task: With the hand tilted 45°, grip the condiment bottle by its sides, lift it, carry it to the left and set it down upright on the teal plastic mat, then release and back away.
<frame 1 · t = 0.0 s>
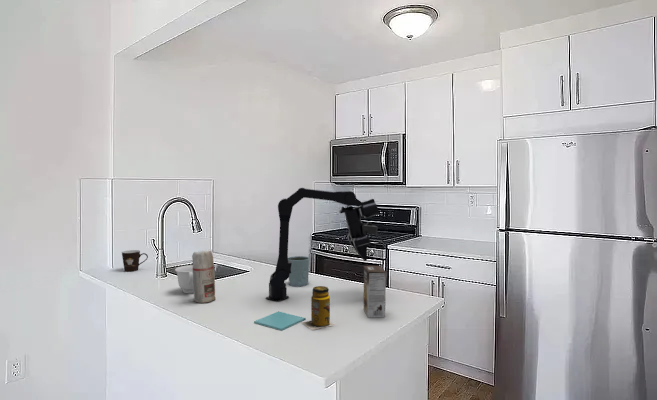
hand: (363, 258, 161), 15 cm above the counter, tool pointing down, fingers open, 9 cm apart
condiment: (318, 325, 130), on the counter
coffee mug: (134, 271, 207), on the counter
spray can: (204, 300, 156), on the counter
mat: (280, 321, 132), on the counter
grey teal cup: (298, 284, 180), on the counter
coffee box: (373, 313, 141), on the counter
teacup: (190, 292, 167), on the counter
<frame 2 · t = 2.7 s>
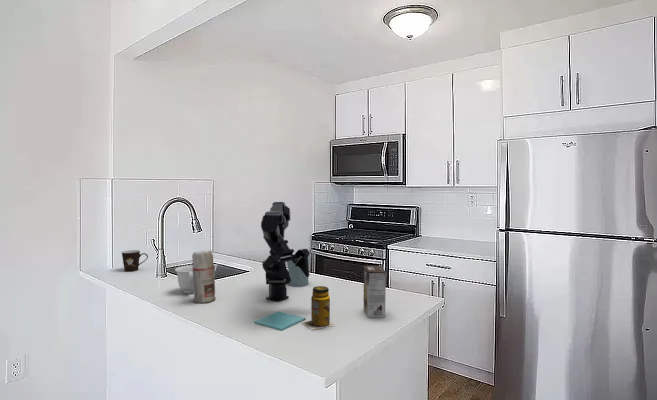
hand: (299, 279, 135), 13 cm above the counter, tool tilted 45°, fingers open, 9 cm apart
nothing on the counter moved.
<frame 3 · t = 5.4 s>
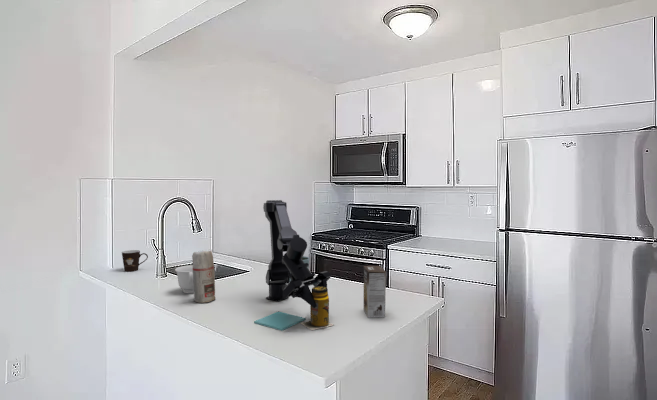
hand: (321, 304, 129), 7 cm above the counter, tool tilted 45°, fingers closed on condiment, 6 cm apart
condiment: (317, 325, 129), on the counter, touching gripper
everything else where it was.
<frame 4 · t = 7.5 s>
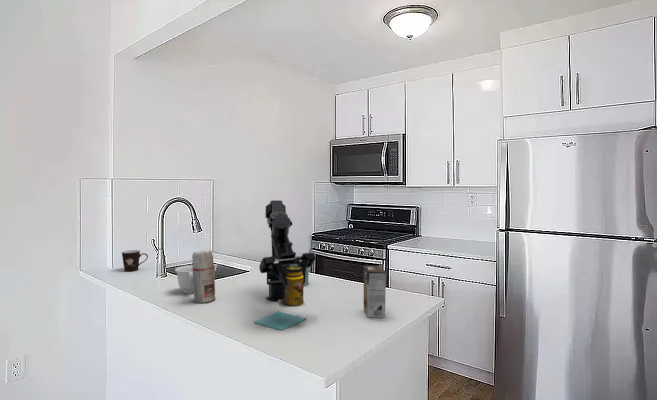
hand: (295, 284, 129), 13 cm above the counter, tool tilted 45°, fingers closed on condiment, 6 cm apart
condiment: (291, 304, 130), point 6 cm above the counter, touching gripper
everything else where it was.
when the fingers open (8 cm above the counter, at t = 9.3 s): condiment drops 1 cm, resting on mat.
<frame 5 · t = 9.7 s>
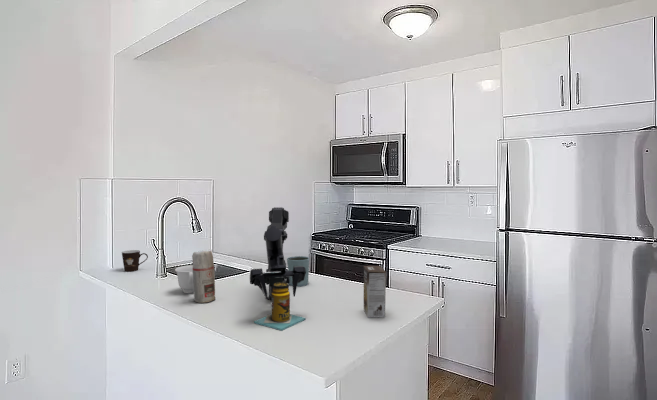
hand: (280, 297, 130), 9 cm above the counter, tool tilted 45°, fingers open, 9 cm apart
condiment: (278, 320, 132), resting on mat
everything else where it was.
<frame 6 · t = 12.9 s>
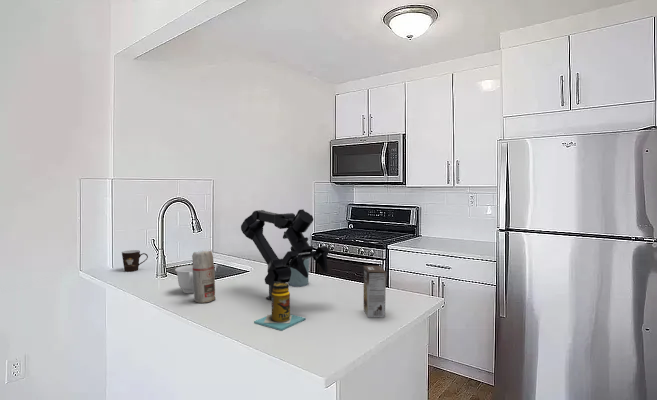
hand: (317, 275, 140), 14 cm above the counter, tool tilted 45°, fingers open, 9 cm apart
nothing on the counter moved.
at the end: condiment inside the target area on the mat (0.6 cm from its centre), point 0.4 cm above the mat's base; condiment tilted 0°; the gripper is holding nothing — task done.
